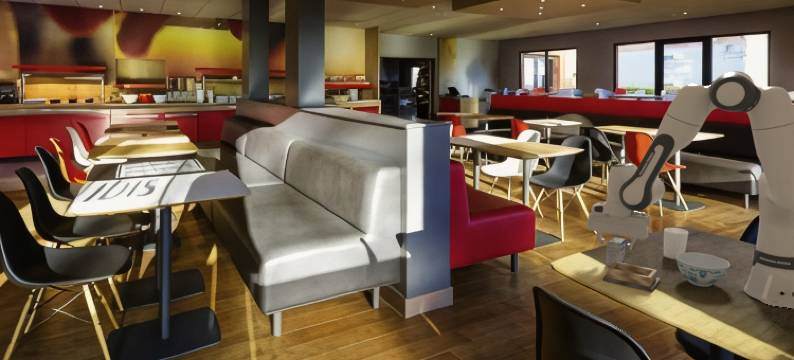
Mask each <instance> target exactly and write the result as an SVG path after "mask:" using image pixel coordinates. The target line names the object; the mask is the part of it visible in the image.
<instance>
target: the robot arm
mask: <svg viewBox="0 0 794 360" xmlns="http://www.w3.org/2000/svg"><path fill="white" fill-rule="evenodd" d="M716 109H719V110H721V111H725V112H729V113H730V112H737V113H739V112H740V113H746V114H747V116H748V118H749V122H750V126H751V131H752V137H753V143H754V147H755V150H756V151H755V152H756V156H757V157H758V160H759V162H760V165H761V168H762V170H763V172H762V173H761V174H760V175H759V177H758V182H757V183H758V215H759V217H758V218H759V222H758V230H757V231H758V232H757V239H756V246H754V248H753V252H752V258H751V264H752V265H751V266H752V267H751V270H750V274H749V277H748V280H747V281H746V284H745V286H744V288H743V292H744V293H745V294H747V295H748V296H749V297H752V298H754V299H756V300H758V301H760V302H762V303H763V304H764V303H765V304H764V305H766V304H768V305H767V306H770V305H772V306H771V307H775V306H779V307H778V308H782V307H787V308H786V309H788V308H793V309H792V310H794V103H793V100H792V98H791V96H790V94H789V92H788V91H787V90H786V89H785V88H784V87H780V86H765V87H759V86H757V85H756V84H755V82H754V80H753V79H752V78H751V76H750V75H748V73H745V72H744V71H743V72H742V71H738V70H736V71H735V70H734V71H729V72H725V73H723V74H721V75H720V76H718V77H717V78H715V80H713V81H711V82H710V83H708V85H701V84H698V83H690V84H686V85H685V86H683V87H682V88H681V89H680V90H679V91H678V93H677V94H676V96H675V97H674V99H672V102H671V103H670V104H669V106H668V108H667V111H666V112H665V114H664V116H663V118H662V120H661V122H660V124H659V126H658V130H657V132H656V134H655V136H654V137H653V140H652V142H651V144H650V146H649V147H648V150H647V151H646V153H645V154H644V156H643V158H642V160H641V161H640V163H639V165H638V167H637V166H636V164H634V163H632V162H631V163H630V162H625V163H624V162H623V163H618V164H614V165H612V166H611V167H610V168H609V173H608V177H607V178H608V179H607V186H606V189H607V194H606V195H607V196H606V198H605V201H601V202H596V203H594V204H593V205H591V207H590V209H591V212H590V213H589V214H588V215H587V216H588V217H587V221H586V229H587V230H589V231H593V232H596V236H597V238H598V240H599V241H598V244H600V245H605V242H606V238H604V237H603V236H602V234H609V235H613V236H621V237H624V238H625V237H626V238H630V241H631V242H630V243H629V242H628V243H627V244H626V250H630V251H631V250H633V245H634V243H635V242H636V241H637V240H641V241H643V240H646V239H647V238H648V237H649V225H650V224H651V217H650V215H649V214H647V213H646V212H644V211H643V210H645V209H647V208H648V207H649V206H651V205H654V204H655V203H657V202H659V201H660V200H662V199H663V198H664V197H665V194H666V185H665V183H664V181H663V180H661V179H662V178H659V175H660V173H661V172H662V170H663V168H664V166H665V164H666V163H667V162H668V160H670V158H672V157H673V156H674V155H675V154H676V153H678V152H680V151H682V150H683V149H685V148H686V147H687V146H689V145H690V144H692V142H693V141H694V139H695V138H696V137H697V135H698V134H699V132H700V131H701V128H702V127H703V125H704V124H705V122H706V119H707V117H708V116H710V113H711V112H712V111H713V110H716ZM641 211H643V212H641Z"/></svg>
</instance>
